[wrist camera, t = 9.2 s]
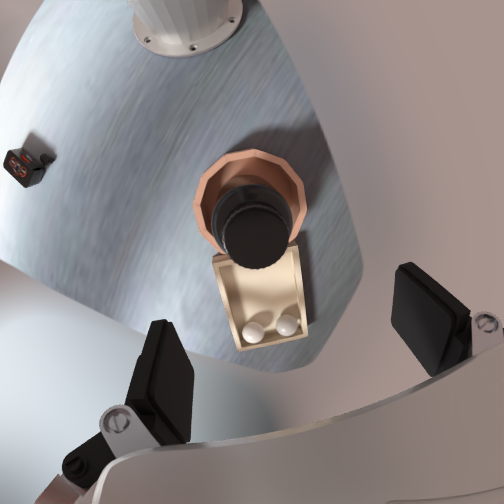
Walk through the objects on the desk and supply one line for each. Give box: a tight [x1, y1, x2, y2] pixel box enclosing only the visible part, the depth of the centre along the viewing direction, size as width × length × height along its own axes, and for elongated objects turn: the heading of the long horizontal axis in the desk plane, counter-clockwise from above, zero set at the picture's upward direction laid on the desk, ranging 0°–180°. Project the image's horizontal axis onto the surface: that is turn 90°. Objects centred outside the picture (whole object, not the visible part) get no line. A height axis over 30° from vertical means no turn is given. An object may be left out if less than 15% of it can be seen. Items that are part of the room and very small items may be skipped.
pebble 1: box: [242, 322, 265, 343], centre depth 36 cm, size 3×3×3 cm
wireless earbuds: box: [3, 148, 54, 188], centre depth 24 cm, size 4×7×3 cm, turn 50°
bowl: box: [193, 148, 307, 255], centre depth 29 cm, size 11×11×4 cm
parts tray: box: [212, 239, 308, 352], centre depth 35 cm, size 14×10×2 cm
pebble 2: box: [276, 314, 298, 336], centre depth 36 cm, size 3×3×3 cm
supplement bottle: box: [211, 174, 293, 270], centre depth 25 cm, size 7×7×12 cm
